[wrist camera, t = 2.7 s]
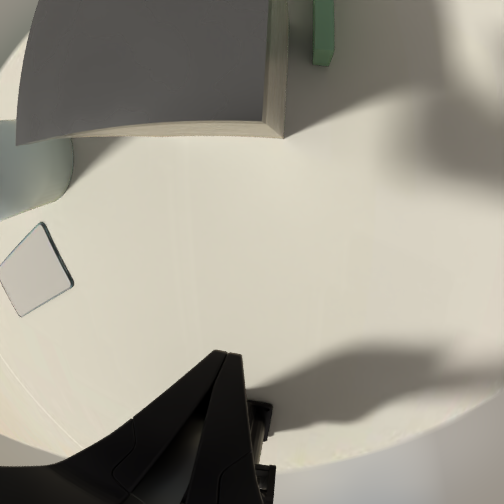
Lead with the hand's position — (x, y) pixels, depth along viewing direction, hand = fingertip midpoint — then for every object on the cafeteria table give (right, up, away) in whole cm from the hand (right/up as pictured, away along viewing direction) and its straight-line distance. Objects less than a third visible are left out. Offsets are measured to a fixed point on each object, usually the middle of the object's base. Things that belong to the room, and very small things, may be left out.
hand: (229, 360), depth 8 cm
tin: (-1, +14, +7) cm, 16 cm away
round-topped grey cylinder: (-17, +11, +11) cm, 23 cm away
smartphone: (-24, +1, +16) cm, 29 cm away
